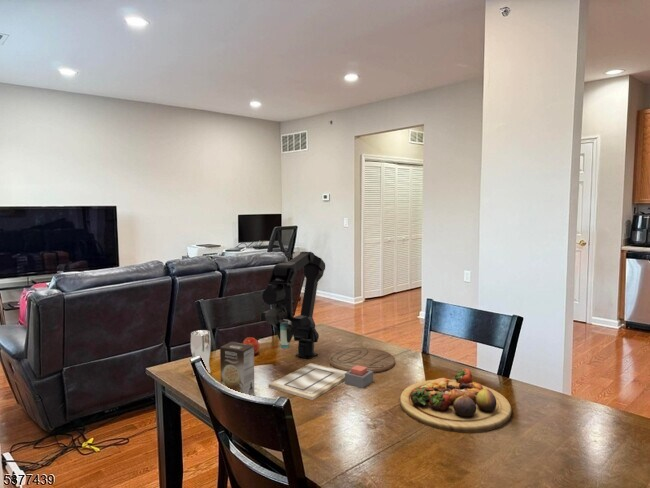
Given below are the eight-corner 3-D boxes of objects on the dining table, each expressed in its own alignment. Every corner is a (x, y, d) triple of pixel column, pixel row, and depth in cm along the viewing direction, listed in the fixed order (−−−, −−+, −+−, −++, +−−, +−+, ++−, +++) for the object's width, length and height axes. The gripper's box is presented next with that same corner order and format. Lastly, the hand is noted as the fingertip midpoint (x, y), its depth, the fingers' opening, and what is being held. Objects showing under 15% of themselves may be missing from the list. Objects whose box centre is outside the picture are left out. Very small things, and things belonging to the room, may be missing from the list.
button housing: (355, 376, 157) (355, 367, 157) (373, 381, 153) (373, 371, 153) (344, 383, 151) (344, 373, 151) (363, 388, 147) (363, 377, 147)
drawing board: (310, 365, 168) (310, 362, 168) (352, 375, 158) (352, 372, 158) (268, 387, 149) (268, 383, 149) (312, 400, 139) (312, 396, 138)
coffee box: (219, 396, 142) (218, 346, 140) (232, 388, 147) (231, 341, 146) (244, 401, 138) (242, 350, 136) (255, 393, 144) (254, 344, 142)
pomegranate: (245, 363, 177) (265, 347, 178) (233, 349, 177) (253, 333, 178) (246, 359, 185) (265, 343, 186) (235, 345, 184) (254, 329, 185)
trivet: (405, 359, 176) (405, 354, 176) (377, 380, 155) (377, 374, 155) (349, 348, 189) (349, 344, 189) (316, 366, 168) (316, 361, 168)
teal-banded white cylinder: (284, 345, 165) (283, 321, 165) (291, 346, 163) (291, 322, 163) (278, 347, 163) (277, 323, 162) (285, 349, 161) (285, 324, 160)
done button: (356, 373, 155) (356, 365, 155) (367, 376, 153) (367, 367, 152) (350, 377, 152) (350, 368, 151) (361, 379, 149) (361, 371, 149)
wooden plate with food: (436, 377, 157) (436, 354, 156) (529, 405, 134) (530, 378, 133) (378, 409, 135) (377, 382, 134) (478, 448, 112) (478, 416, 111)
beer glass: (214, 370, 164) (213, 330, 163) (207, 377, 157) (206, 335, 156) (196, 369, 165) (194, 329, 164) (188, 376, 158) (187, 335, 157)
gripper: (249, 300, 160) (250, 343, 161) (290, 306, 150) (291, 352, 151) (270, 295, 169) (270, 335, 171) (310, 300, 159) (310, 343, 160)
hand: (284, 341), depth 163 cm, fingers closed on teal-banded white cylinder, 3 cm apart
